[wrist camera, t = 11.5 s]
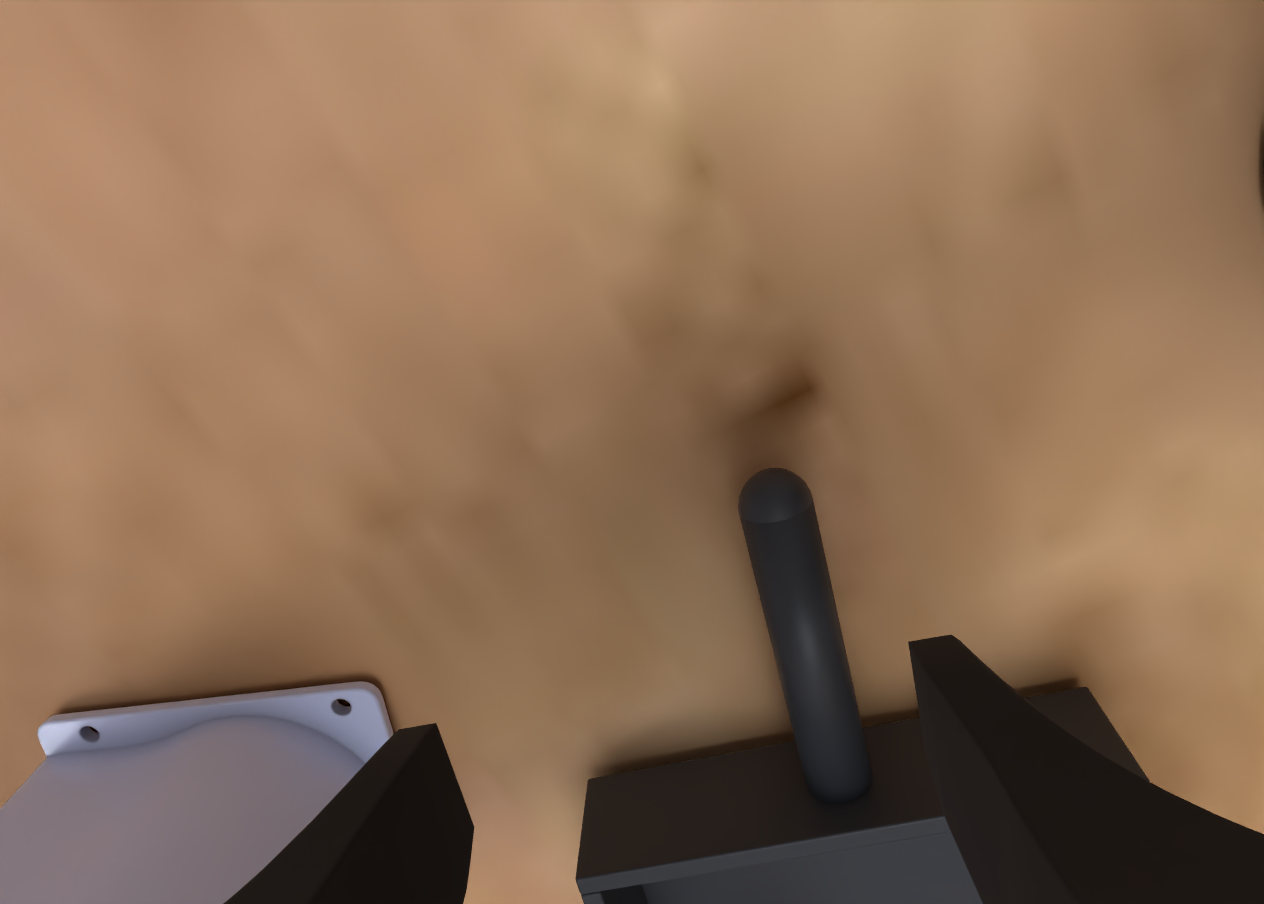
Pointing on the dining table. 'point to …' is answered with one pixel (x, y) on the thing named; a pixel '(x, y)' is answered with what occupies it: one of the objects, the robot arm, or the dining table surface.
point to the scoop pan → (796, 769)
